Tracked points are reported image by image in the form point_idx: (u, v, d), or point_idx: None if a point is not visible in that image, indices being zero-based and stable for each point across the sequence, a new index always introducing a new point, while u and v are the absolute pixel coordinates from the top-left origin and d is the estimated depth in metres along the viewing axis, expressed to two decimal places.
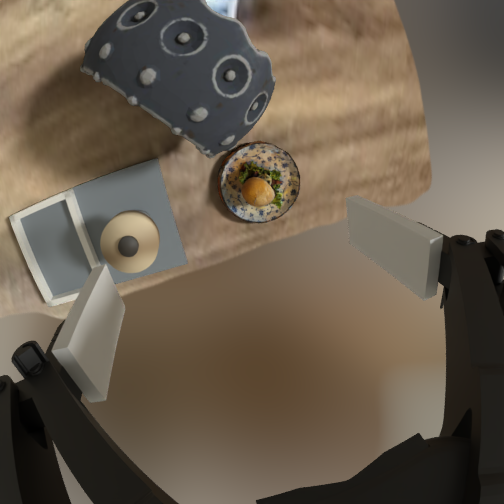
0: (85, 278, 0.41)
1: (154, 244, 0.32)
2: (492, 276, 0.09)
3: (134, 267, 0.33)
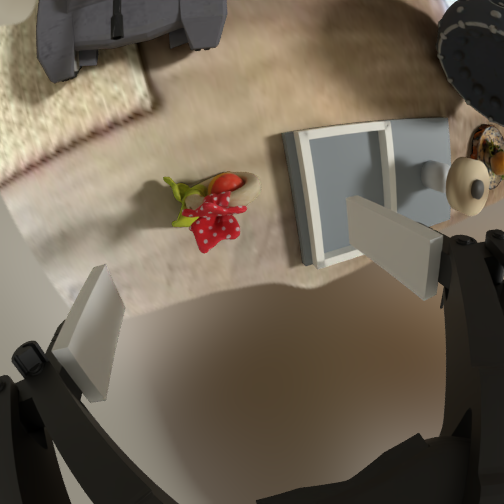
0: None
1: (487, 190, 0.28)
2: (492, 276, 0.09)
3: (473, 210, 0.28)
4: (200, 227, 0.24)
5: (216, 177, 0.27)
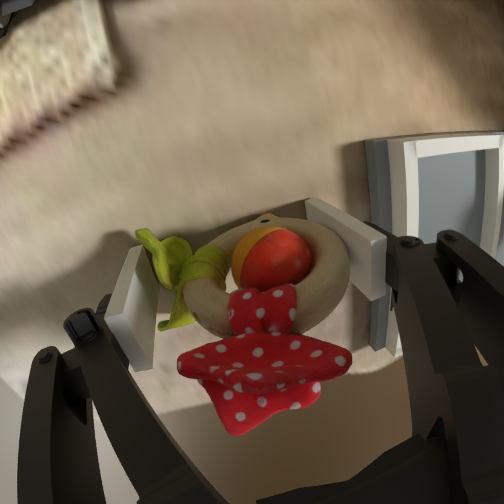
0: None
1: None
2: (443, 277, 0.10)
3: None
4: None
5: (252, 240, 0.12)
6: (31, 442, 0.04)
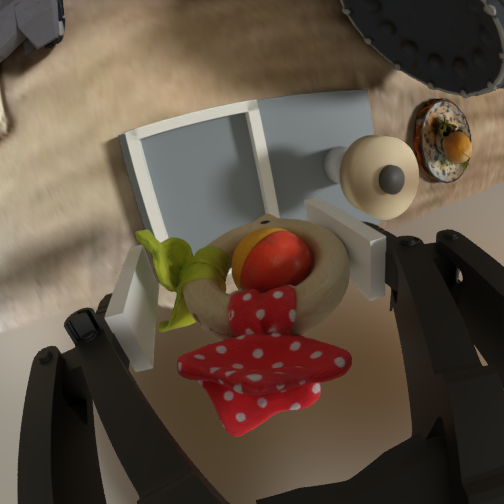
0: None
1: (415, 181, 0.22)
2: (443, 278, 0.10)
3: (388, 211, 0.23)
4: None
5: (252, 241, 0.12)
6: (31, 442, 0.04)
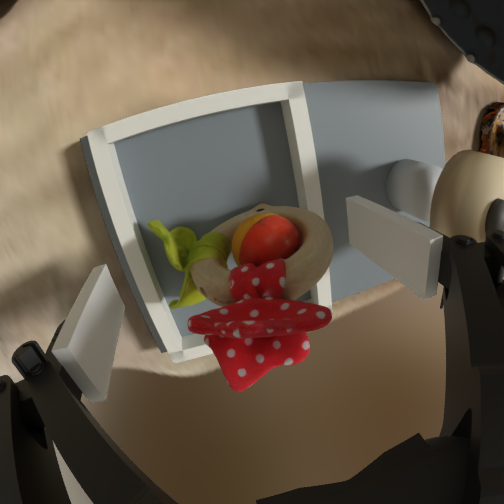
0: None
1: None
2: (492, 276, 0.09)
3: None
4: (229, 343, 0.11)
5: (248, 224, 0.14)
6: None
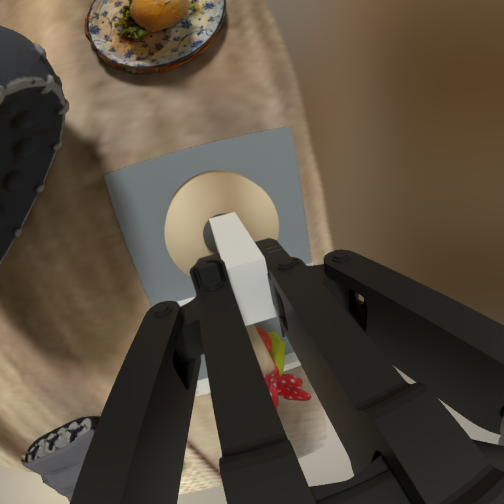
0: None
1: (223, 182, 0.17)
2: None
3: (268, 225, 0.18)
4: (286, 395, 0.23)
5: None
6: (123, 402, 0.06)
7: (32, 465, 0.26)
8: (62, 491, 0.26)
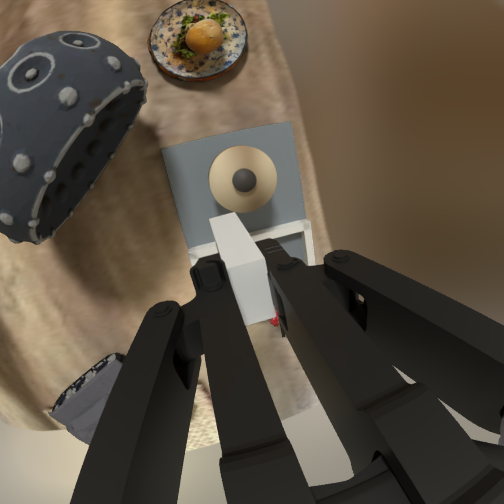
0: (293, 246, 0.40)
1: (245, 150, 0.29)
2: None
3: (270, 176, 0.30)
4: None
5: None
6: (123, 401, 0.06)
7: (59, 411, 0.38)
8: (85, 434, 0.37)
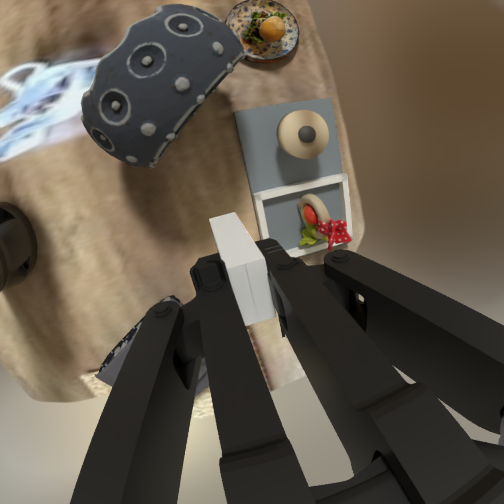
0: (333, 195, 0.49)
1: (307, 112, 0.37)
2: None
3: (324, 133, 0.38)
4: (337, 239, 0.42)
5: (306, 220, 0.45)
6: (123, 402, 0.06)
7: (109, 368, 0.46)
8: None
